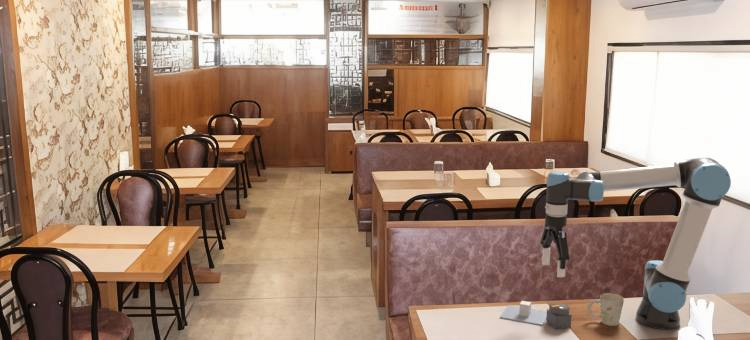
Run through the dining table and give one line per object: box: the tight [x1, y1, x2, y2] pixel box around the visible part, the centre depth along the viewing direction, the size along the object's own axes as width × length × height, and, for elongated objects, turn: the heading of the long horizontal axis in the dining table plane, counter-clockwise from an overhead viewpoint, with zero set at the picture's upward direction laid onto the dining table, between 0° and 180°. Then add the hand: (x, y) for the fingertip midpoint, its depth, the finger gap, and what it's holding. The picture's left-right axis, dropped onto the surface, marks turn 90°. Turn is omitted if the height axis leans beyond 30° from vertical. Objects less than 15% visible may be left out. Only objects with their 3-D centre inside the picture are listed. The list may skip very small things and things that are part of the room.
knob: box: [545, 302, 572, 330], centre depth 243 cm, size 7×7×8 cm
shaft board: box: [499, 300, 547, 326], centre depth 251 cm, size 16×13×5 cm
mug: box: [586, 292, 625, 327], centre depth 245 cm, size 8×13×10 cm, turn 78°
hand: (553, 270), depth 242 cm, fingers open, 13 cm apart
